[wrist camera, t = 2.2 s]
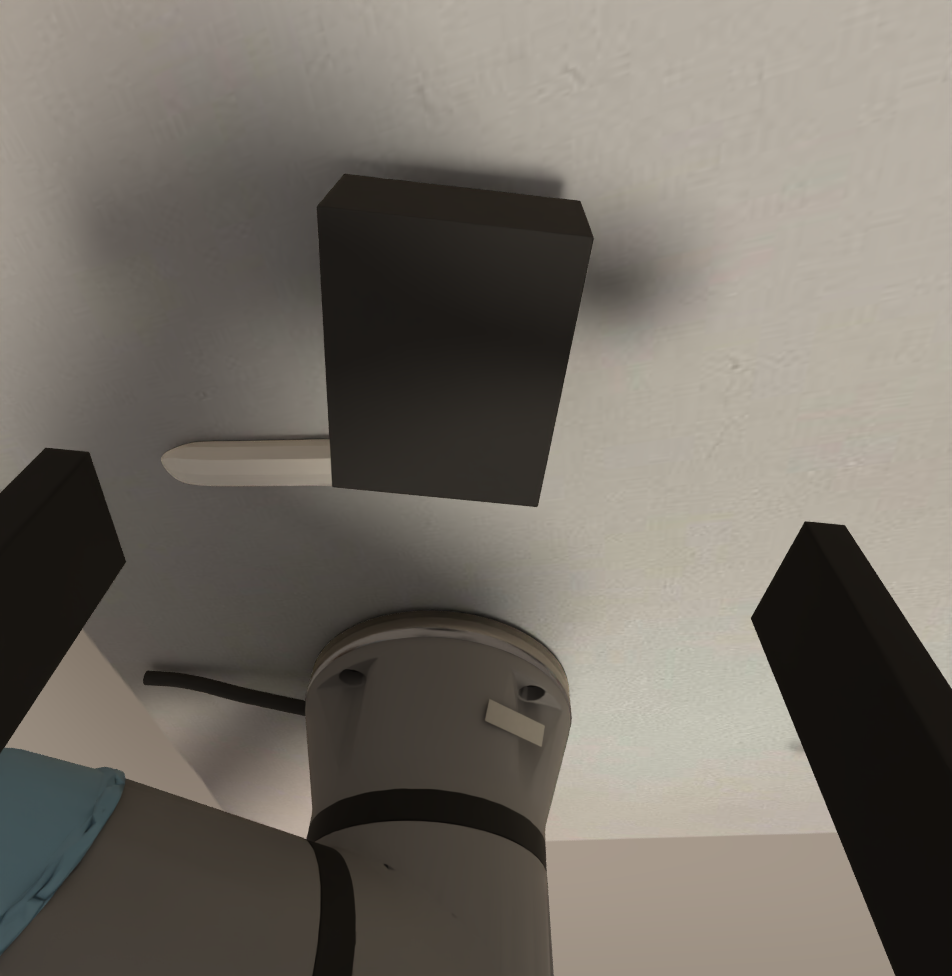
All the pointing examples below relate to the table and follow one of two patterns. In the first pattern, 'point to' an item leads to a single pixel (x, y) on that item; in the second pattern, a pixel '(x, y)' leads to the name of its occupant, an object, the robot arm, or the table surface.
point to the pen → (251, 463)
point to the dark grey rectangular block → (446, 335)
